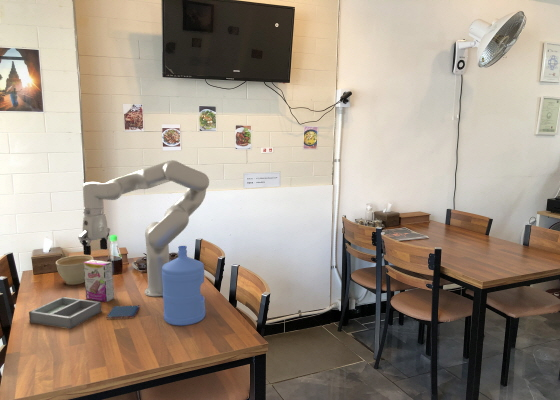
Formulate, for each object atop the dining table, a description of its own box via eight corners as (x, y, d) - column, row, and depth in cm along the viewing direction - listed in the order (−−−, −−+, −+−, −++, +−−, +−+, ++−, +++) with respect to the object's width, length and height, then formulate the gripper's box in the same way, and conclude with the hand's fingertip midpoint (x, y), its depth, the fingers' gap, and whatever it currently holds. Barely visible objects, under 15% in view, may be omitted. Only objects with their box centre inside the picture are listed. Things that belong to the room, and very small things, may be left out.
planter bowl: (60, 278, 210) (59, 256, 208) (96, 274, 214) (95, 254, 213) (54, 289, 194) (52, 266, 193) (92, 285, 199) (91, 262, 198)
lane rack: (101, 311, 169) (100, 302, 168) (70, 328, 154) (69, 318, 153) (63, 306, 175) (62, 296, 174) (29, 322, 160) (28, 311, 159)
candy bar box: (85, 299, 182) (82, 262, 179) (93, 295, 186) (91, 259, 184) (106, 302, 178) (104, 264, 176) (114, 298, 183) (112, 261, 180)
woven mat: (113, 310, 172) (112, 305, 171) (140, 309, 173) (140, 304, 172) (105, 321, 161) (105, 316, 161) (134, 320, 162) (133, 315, 162)
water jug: (179, 330, 152) (176, 254, 148) (155, 318, 163) (152, 247, 159) (213, 317, 164) (212, 246, 160) (189, 306, 174) (187, 239, 170)
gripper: (86, 215, 167) (88, 258, 170) (115, 209, 184) (116, 247, 186) (70, 214, 170) (72, 256, 172) (101, 208, 186) (102, 246, 188)
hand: (95, 251), depth 179 cm, fingers open, 9 cm apart
